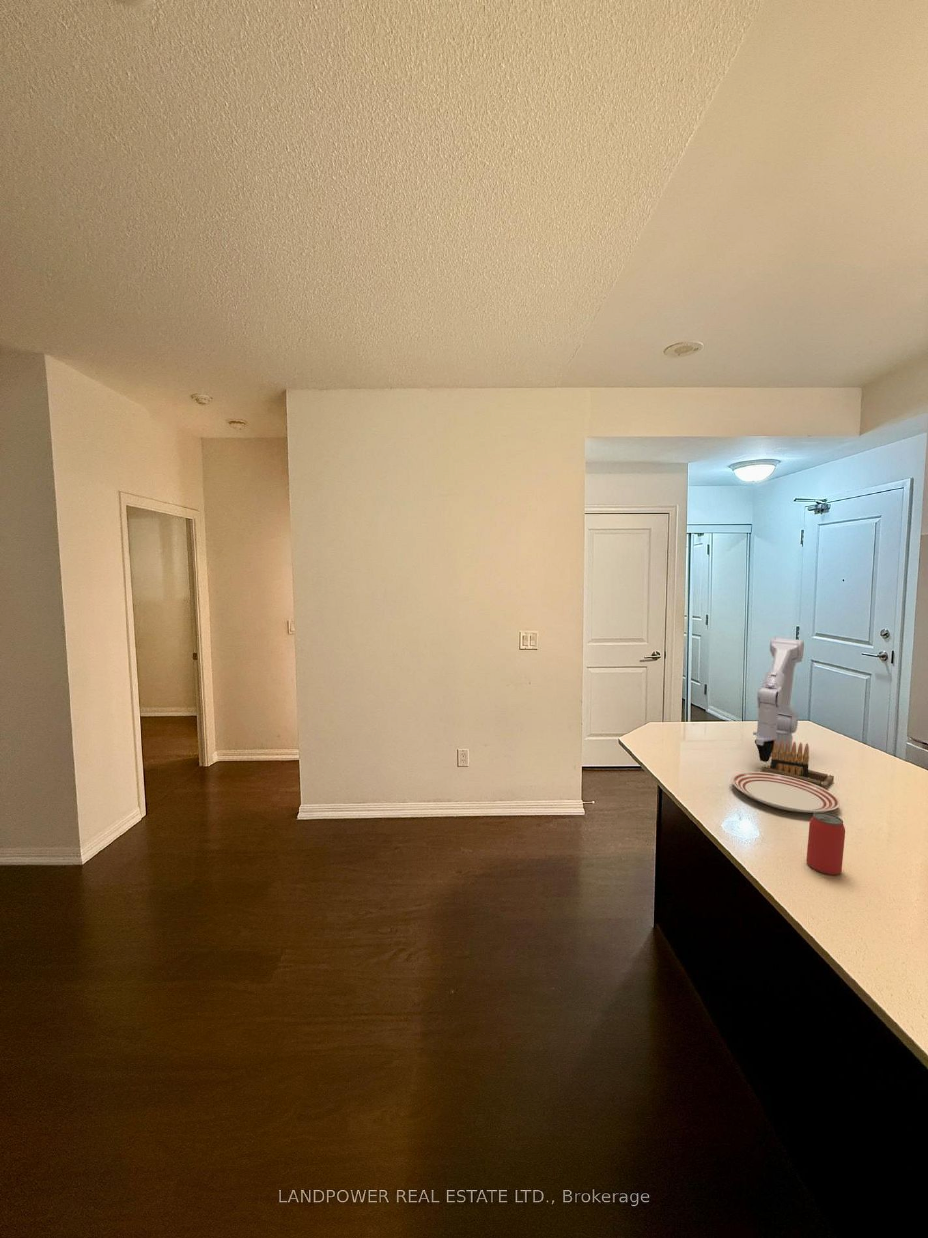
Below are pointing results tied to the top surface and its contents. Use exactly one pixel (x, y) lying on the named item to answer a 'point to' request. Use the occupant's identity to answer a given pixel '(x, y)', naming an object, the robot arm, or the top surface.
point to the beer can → (826, 843)
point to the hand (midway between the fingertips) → (764, 760)
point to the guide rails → (812, 777)
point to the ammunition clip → (790, 759)
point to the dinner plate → (785, 792)
